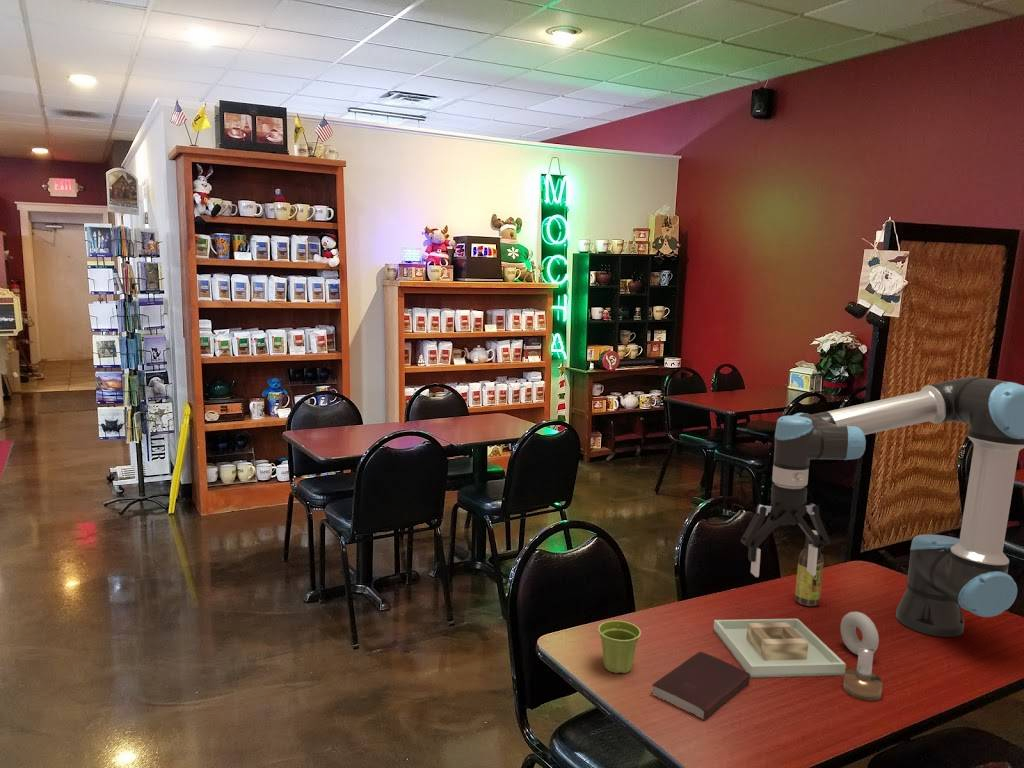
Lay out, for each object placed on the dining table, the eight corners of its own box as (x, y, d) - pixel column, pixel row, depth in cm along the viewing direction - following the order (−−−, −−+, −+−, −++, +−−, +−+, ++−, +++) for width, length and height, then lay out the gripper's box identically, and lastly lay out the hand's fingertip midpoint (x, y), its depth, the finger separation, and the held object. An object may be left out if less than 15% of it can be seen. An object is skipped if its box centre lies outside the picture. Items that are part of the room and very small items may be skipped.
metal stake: (868, 681, 155) (872, 640, 154) (888, 700, 148) (893, 657, 146) (836, 682, 154) (840, 640, 153) (855, 701, 147) (860, 658, 146)
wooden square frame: (786, 637, 172) (787, 622, 171) (806, 659, 162) (808, 643, 161) (746, 638, 171) (747, 623, 170) (764, 660, 161) (766, 644, 160)
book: (750, 686, 152) (751, 672, 152) (704, 723, 139) (705, 708, 138) (698, 663, 161) (699, 650, 161) (650, 697, 147) (650, 682, 147)
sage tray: (796, 628, 178) (797, 618, 178) (844, 675, 157) (845, 664, 157) (713, 629, 176) (714, 620, 176) (750, 677, 155) (751, 666, 155)
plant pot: (587, 667, 157) (589, 630, 156) (610, 651, 164) (612, 616, 163) (624, 683, 151) (626, 645, 150) (646, 666, 158) (648, 629, 157)
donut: (880, 663, 162) (884, 622, 161) (868, 665, 161) (872, 624, 160) (846, 642, 172) (850, 603, 170) (835, 644, 171) (838, 605, 169)
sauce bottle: (813, 610, 189) (820, 538, 186) (790, 602, 193) (796, 531, 190) (823, 602, 193) (829, 532, 191) (800, 595, 198) (806, 526, 195)
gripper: (743, 489, 156) (737, 581, 159) (851, 488, 159) (843, 579, 161) (729, 480, 163) (724, 568, 166) (833, 479, 166) (825, 566, 169)
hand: (783, 574), depth 164 cm, fingers open, 13 cm apart
